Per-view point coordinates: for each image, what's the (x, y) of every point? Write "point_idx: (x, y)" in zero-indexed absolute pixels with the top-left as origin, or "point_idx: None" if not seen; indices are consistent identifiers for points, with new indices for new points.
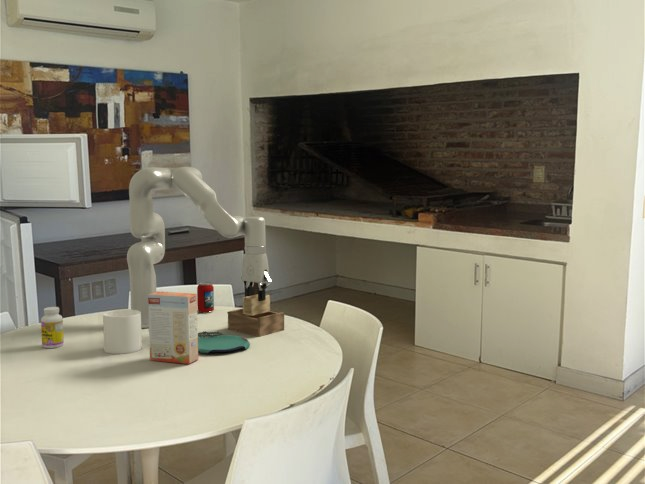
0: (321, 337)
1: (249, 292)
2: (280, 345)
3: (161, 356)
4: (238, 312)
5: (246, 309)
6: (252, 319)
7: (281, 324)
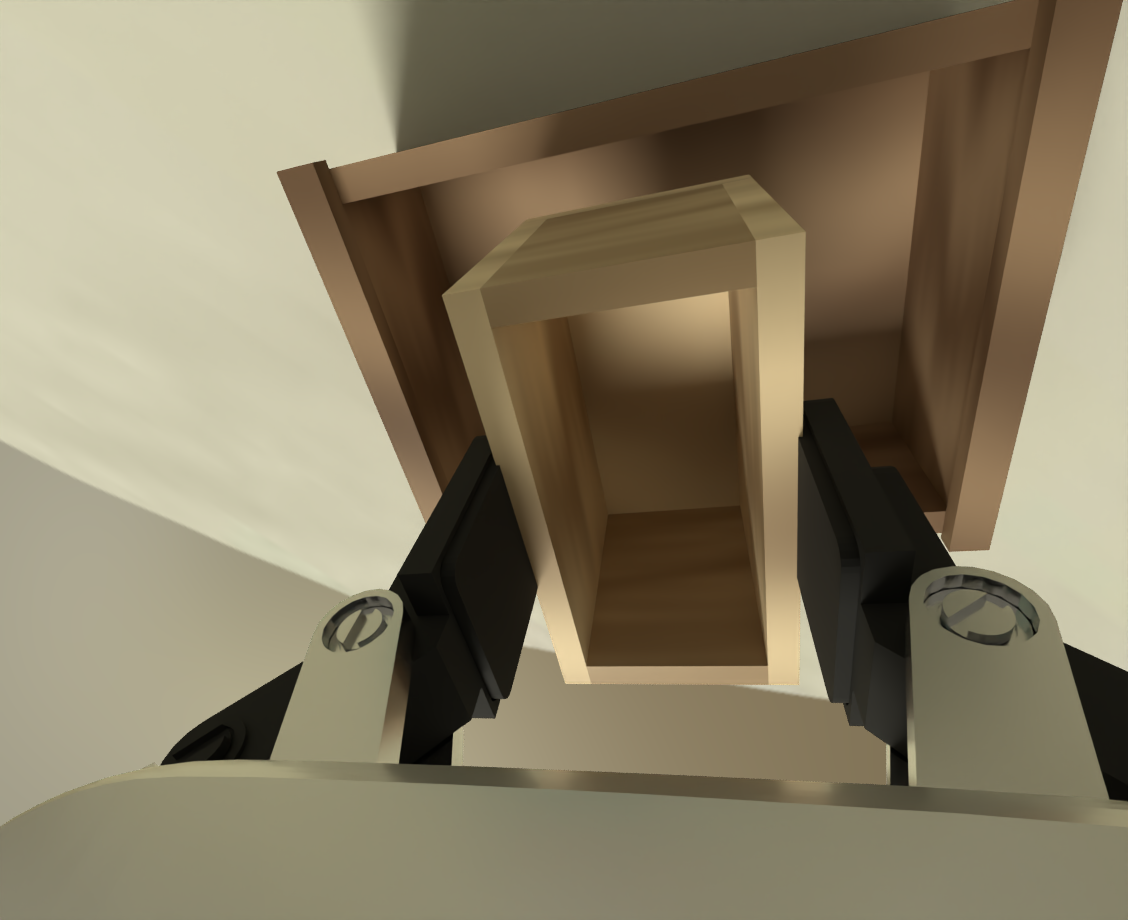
0: (194, 500)
1: (818, 513)
2: (31, 123)
3: None
4: (990, 246)
5: (659, 206)
6: (437, 142)
7: None
